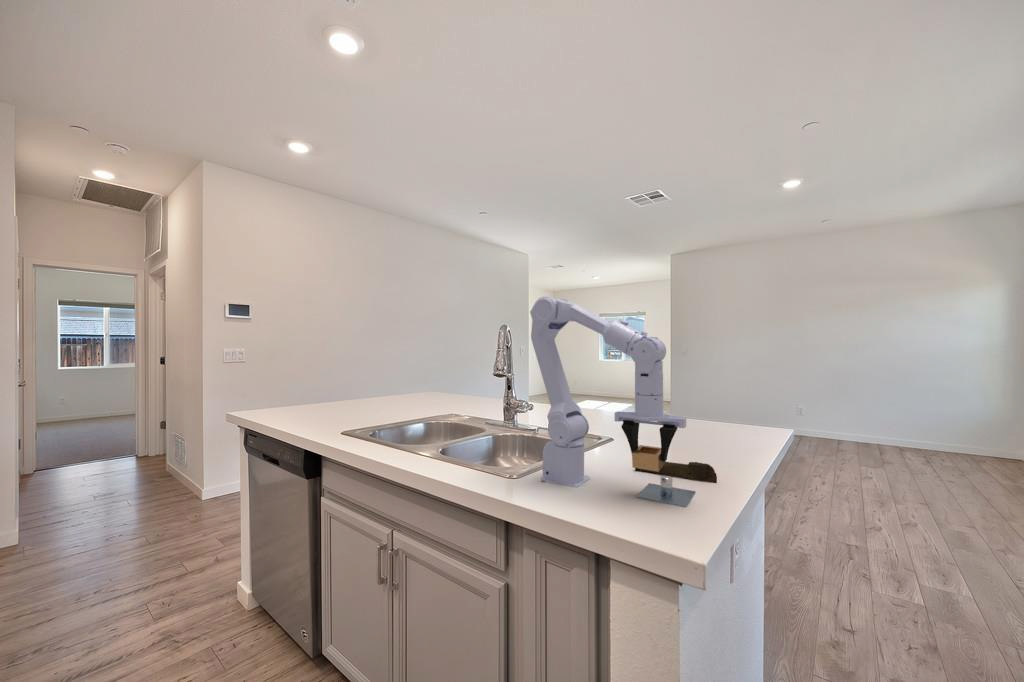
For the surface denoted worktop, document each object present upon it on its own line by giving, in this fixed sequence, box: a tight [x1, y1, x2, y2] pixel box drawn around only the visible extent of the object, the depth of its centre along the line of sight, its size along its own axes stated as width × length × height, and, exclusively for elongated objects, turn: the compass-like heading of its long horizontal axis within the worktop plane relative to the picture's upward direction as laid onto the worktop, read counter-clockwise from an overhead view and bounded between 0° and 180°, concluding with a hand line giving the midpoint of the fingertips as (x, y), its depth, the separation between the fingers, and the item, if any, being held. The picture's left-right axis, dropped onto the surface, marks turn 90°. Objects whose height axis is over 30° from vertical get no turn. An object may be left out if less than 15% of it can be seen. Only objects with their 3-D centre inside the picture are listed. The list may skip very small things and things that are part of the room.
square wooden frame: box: [631, 444, 667, 472], centre depth 91 cm, size 5×5×3 cm
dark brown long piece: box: [634, 461, 718, 484], centre depth 105 cm, size 19×4×5 cm, turn 54°
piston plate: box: [635, 475, 696, 508], centre depth 92 cm, size 10×10×4 cm
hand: (649, 458), depth 91 cm, fingers closed on square wooden frame, 5 cm apart
